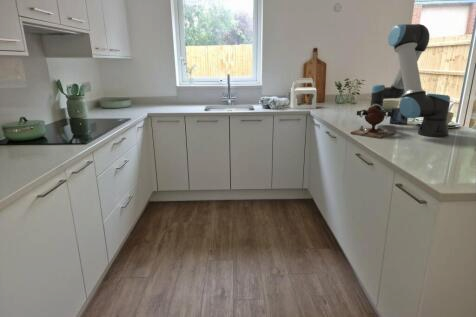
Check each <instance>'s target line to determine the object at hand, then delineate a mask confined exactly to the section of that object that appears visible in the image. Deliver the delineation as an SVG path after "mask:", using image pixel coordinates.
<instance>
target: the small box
mask: <svg viewBox="0 0 476 317" xmlns="http://www.w3.org/2000/svg"><path fill="white" fill-rule="evenodd" d="M390 112H393V117H390V116H389V124H390V125H402V124H407V125H408V119H409V118H407V117H405V116H403V115H402V114H401V112H400V109H399V107H391V109H390Z"/></svg>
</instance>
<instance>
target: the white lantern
mask: <svg viewBox="0 0 476 317" xmlns="http://www.w3.org/2000/svg"><path fill="white" fill-rule="evenodd" d="M313 79H314V78H313V77H295V79H294V80H293V81H292V82H291V88H290V102H289V105H290V107H289V108H291V109H292V108H293V109H292V110H304V109H305V110H308V109H309V110H311V109H310V108H314V109H316V108H317V97H318V96H317V93H318V90H317V89H318V88H317V86H316V81H315V80H313ZM296 84H311V86H297V87H296ZM299 94H300V95H301V94H303V95H309V97H308V103H305V102H299V103H298V98H297V96H298V95H299Z"/></svg>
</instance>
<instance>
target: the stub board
mask: <svg viewBox="0 0 476 317" xmlns="http://www.w3.org/2000/svg"><path fill="white" fill-rule="evenodd" d="M376 126H377V127H376V128H375V129H376V130H377V131H378V132H377V133H371V132H368V131H369V130H371V129H372V127H364V126H363V125H359V128H358V129H357V130H353V131H350V135H355V136H361V137H362V136H363V137H367V138H373V139H382V138H385V137H388V136H389V137H390V136H392V135H394V134H395V133H396V132H395V131H392V130H388V129H386V128H383V129H382V125H376Z"/></svg>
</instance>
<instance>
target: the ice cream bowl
mask: <svg viewBox="0 0 476 317" xmlns="http://www.w3.org/2000/svg"><path fill="white" fill-rule="evenodd" d="M366 111H367V113H368V115H364V119H365V121H366V123H368V124H369V125H371V128H372V129H371V130H369V131H368V132H371V133H377V132H378V131H377V130H376V129H377V128H376V126H378V125H379V124H381V123H382V122H383V121H384V120H385V119H386V116H383V113H382V111H383V110H382V111H381V110H379V109H377V108H376V107H370V106H369V107H368V109H367V110H366Z"/></svg>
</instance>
